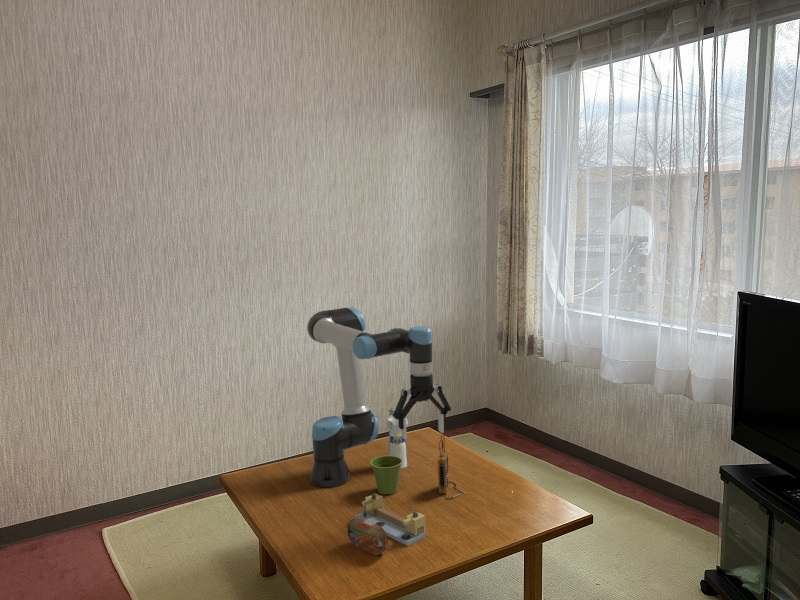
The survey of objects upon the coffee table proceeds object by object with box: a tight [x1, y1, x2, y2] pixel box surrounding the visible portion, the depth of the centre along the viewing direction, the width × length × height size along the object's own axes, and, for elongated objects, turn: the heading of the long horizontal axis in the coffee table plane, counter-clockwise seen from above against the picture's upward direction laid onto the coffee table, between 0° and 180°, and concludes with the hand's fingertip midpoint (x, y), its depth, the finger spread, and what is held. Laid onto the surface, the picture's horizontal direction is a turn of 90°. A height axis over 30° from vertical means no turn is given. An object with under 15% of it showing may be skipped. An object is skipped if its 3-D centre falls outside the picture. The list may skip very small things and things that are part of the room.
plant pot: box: [369, 455, 403, 495], centre depth 226 cm, size 12×12×11 cm
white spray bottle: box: [386, 407, 409, 469], centre depth 248 cm, size 8×9×25 cm
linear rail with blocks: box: [354, 507, 427, 547], centre depth 199 cm, size 25×8×8 cm, turn 44°
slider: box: [361, 492, 385, 517], centre depth 206 cm, size 4×7×6 cm, turn 133°
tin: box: [347, 518, 389, 556], centre depth 186 cm, size 15×3×8 cm, turn 48°
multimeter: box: [437, 434, 467, 500], centre depth 223 cm, size 15×10×20 cm
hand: (422, 434), depth 209 cm, fingers open, 13 cm apart
